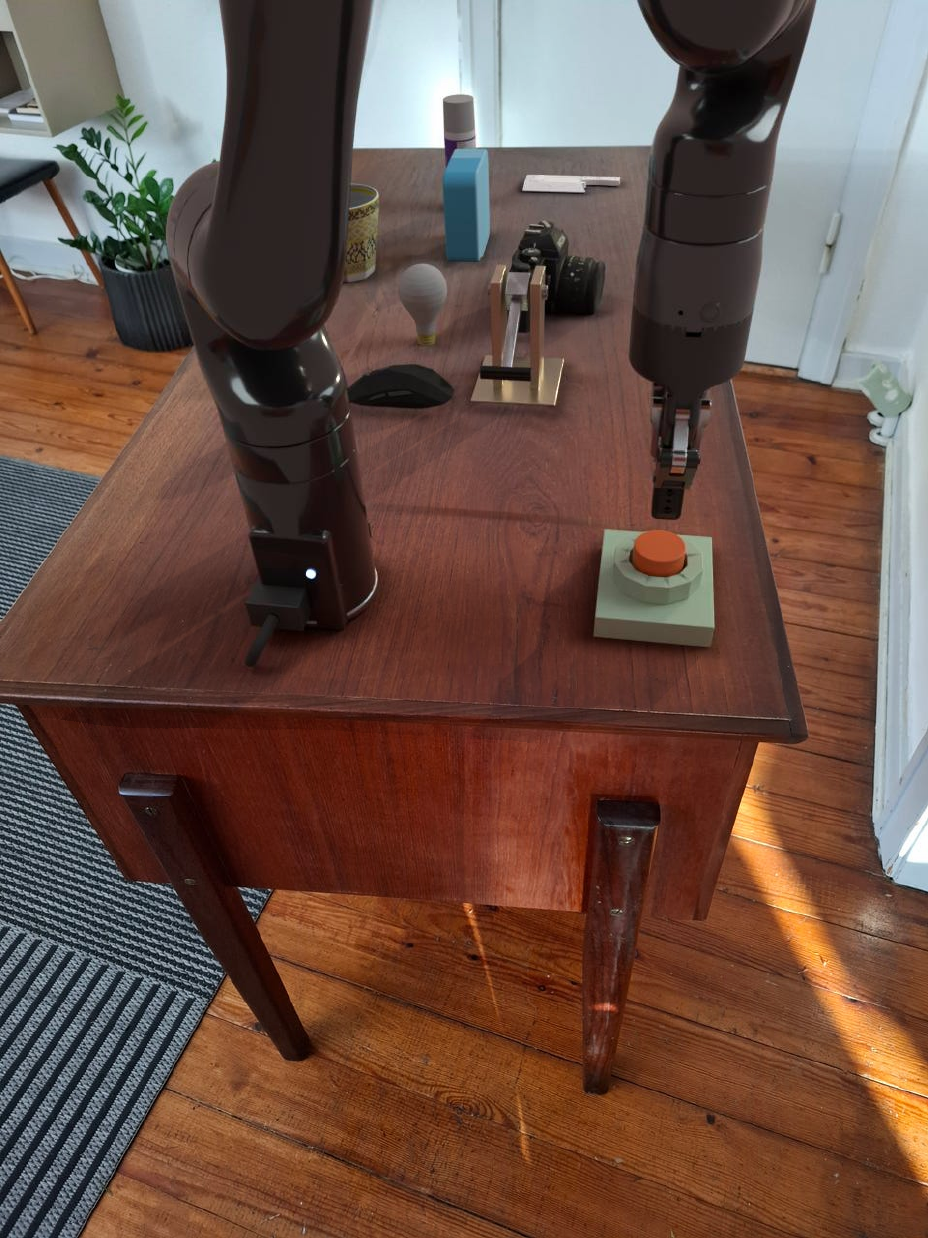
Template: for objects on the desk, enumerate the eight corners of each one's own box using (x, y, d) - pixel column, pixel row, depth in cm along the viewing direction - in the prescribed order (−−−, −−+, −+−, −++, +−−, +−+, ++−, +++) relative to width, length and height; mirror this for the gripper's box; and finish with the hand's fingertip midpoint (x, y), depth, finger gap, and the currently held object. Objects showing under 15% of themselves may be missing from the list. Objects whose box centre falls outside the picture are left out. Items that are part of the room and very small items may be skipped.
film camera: (613, 343, 105) (619, 258, 98) (508, 347, 105) (507, 263, 98) (596, 279, 118) (600, 200, 111) (502, 283, 118) (501, 205, 111)
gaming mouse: (327, 384, 101) (322, 352, 98) (457, 386, 99) (455, 353, 96) (314, 414, 96) (308, 380, 94) (450, 417, 95) (448, 383, 92)
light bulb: (444, 361, 104) (439, 276, 97) (399, 358, 105) (390, 274, 98) (454, 339, 107) (449, 256, 100) (410, 336, 108) (403, 254, 101)
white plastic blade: (616, 193, 139) (617, 186, 139) (522, 191, 142) (522, 184, 141) (620, 182, 143) (620, 174, 142) (527, 180, 146) (527, 172, 145)
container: (443, 204, 140) (436, 97, 129) (470, 198, 141) (465, 91, 131) (455, 214, 137) (450, 104, 126) (482, 208, 138) (479, 99, 127)
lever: (531, 387, 88) (530, 372, 86) (481, 385, 89) (478, 370, 86) (544, 289, 92) (543, 272, 90) (496, 287, 93) (494, 271, 91)
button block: (710, 647, 69) (718, 610, 66) (593, 636, 70) (596, 599, 68) (708, 556, 77) (715, 519, 74) (602, 548, 78) (605, 511, 75)
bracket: (554, 414, 94) (557, 297, 85) (470, 409, 96) (465, 294, 87) (563, 367, 101) (567, 254, 92) (485, 364, 103) (482, 252, 94)
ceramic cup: (396, 278, 121) (388, 201, 114) (325, 293, 118) (312, 215, 111) (367, 245, 130) (359, 171, 123) (301, 258, 127) (288, 184, 120)
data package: (459, 234, 131) (455, 145, 123) (490, 234, 130) (488, 145, 122) (446, 268, 122) (441, 175, 114) (479, 268, 122) (476, 175, 113)
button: (683, 580, 69) (686, 563, 68) (631, 576, 70) (633, 559, 69) (683, 548, 72) (686, 531, 71) (633, 544, 73) (635, 527, 72)
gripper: (636, 251, 61) (619, 462, 74) (630, 344, 52) (611, 567, 64) (748, 253, 60) (712, 466, 72) (763, 347, 51) (719, 574, 63)
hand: (665, 513), depth 68 cm, fingers closed
